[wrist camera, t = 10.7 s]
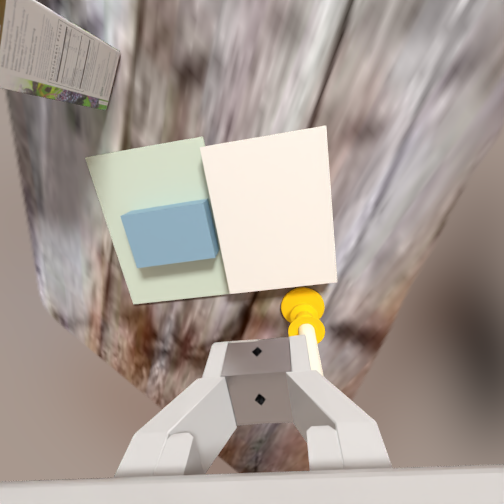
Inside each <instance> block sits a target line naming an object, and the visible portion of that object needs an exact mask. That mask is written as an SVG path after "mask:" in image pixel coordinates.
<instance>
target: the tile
mask: <svg viewBox="0 0 504 504" xmlns="http://www.w3.org/2000/svg"><path fill="white" fill-rule="evenodd" d="M120 217H121V220H122V223H123V226H124V229H125V232H126V236H127V239H128V242H129V245H130V248H131V251H132V254H133V257H134V260H135V263H136V267H137V268H143V267H150V266H158V265H165V264H173V263H180V262H188V261H195V260H203V259H210V258H216V256H217V254H218V252H219V246H218V241H217V237H216V232H215V227H214V223H213V218H212V214H211V209H210V205H209V200H208V199H202V200H195V201H189V202H183V203H177V204H170V205H164V206H158V207H152V208H145V209H139V210H133V211H130V212H128V213H125V214H123V215H121V216H120Z"/></svg>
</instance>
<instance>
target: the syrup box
mask: <svg viewBox="0 0 504 504" xmlns="http://www.w3.org/2000/svg"><path fill="white" fill-rule="evenodd" d="M119 56H120V51H119V50H117V49H115V48H113V47H112V46H110V45H109V44H107V43H105V42H104V41H102V40H101V39H99V38H97V37H95V36H94V35H92V34H90V33H89V32H87V31H86V30H84V29H82V28H81V27H79V26H77V25H75V24H74V23H72V22H70V21H69V20H67V19H65V18H64V17H62V16H61V15H59V14H57V13H56V12H54V11H52V10H51V9H49V8H47V7H46V6H44V5H42V4H41V3H39V2H37V1H36V0H0V88H2V89H7V90H12V91H16V92H21V93H26V94H30V95H35V96H40V97H45V98H49V99H54V100H59V101H63V102H68V103H73V104H78V105H83V106H88V107H93V108H97V109H102V110H106V109H107V106H108V102H109V98H110V94H111V89H112V86H113V81H114V77H115V73H116V69H117V64H118V60H119Z"/></svg>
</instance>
